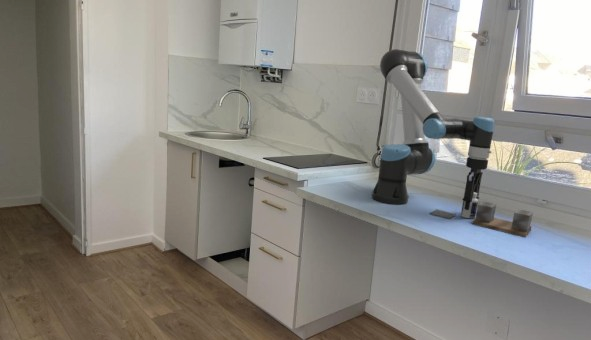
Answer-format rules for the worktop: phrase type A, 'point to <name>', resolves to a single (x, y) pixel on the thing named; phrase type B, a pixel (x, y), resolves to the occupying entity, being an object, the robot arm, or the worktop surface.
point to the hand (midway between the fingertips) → (468, 215)
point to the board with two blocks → (516, 227)
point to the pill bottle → (474, 206)
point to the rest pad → (442, 214)
